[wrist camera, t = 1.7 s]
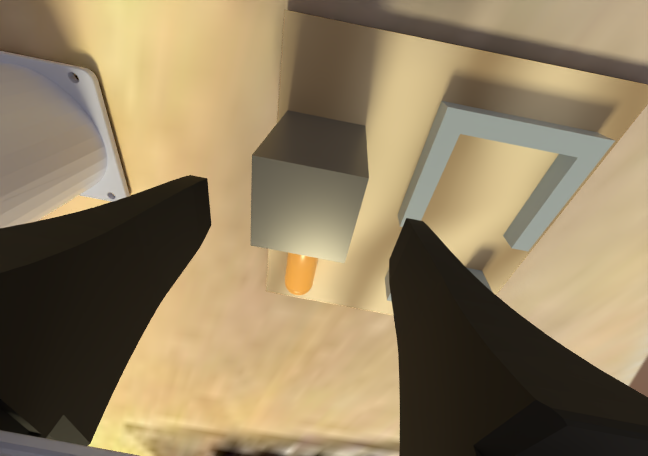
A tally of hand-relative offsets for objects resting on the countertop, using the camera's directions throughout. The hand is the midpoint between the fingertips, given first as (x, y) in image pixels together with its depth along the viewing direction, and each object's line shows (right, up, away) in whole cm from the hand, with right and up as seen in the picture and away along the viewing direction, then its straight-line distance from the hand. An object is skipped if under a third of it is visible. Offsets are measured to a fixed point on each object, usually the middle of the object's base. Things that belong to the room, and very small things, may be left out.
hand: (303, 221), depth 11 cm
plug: (0, +1, +7) cm, 8 cm away
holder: (+9, +2, +5) cm, 11 cm away
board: (+6, 0, +7) cm, 9 cm away
